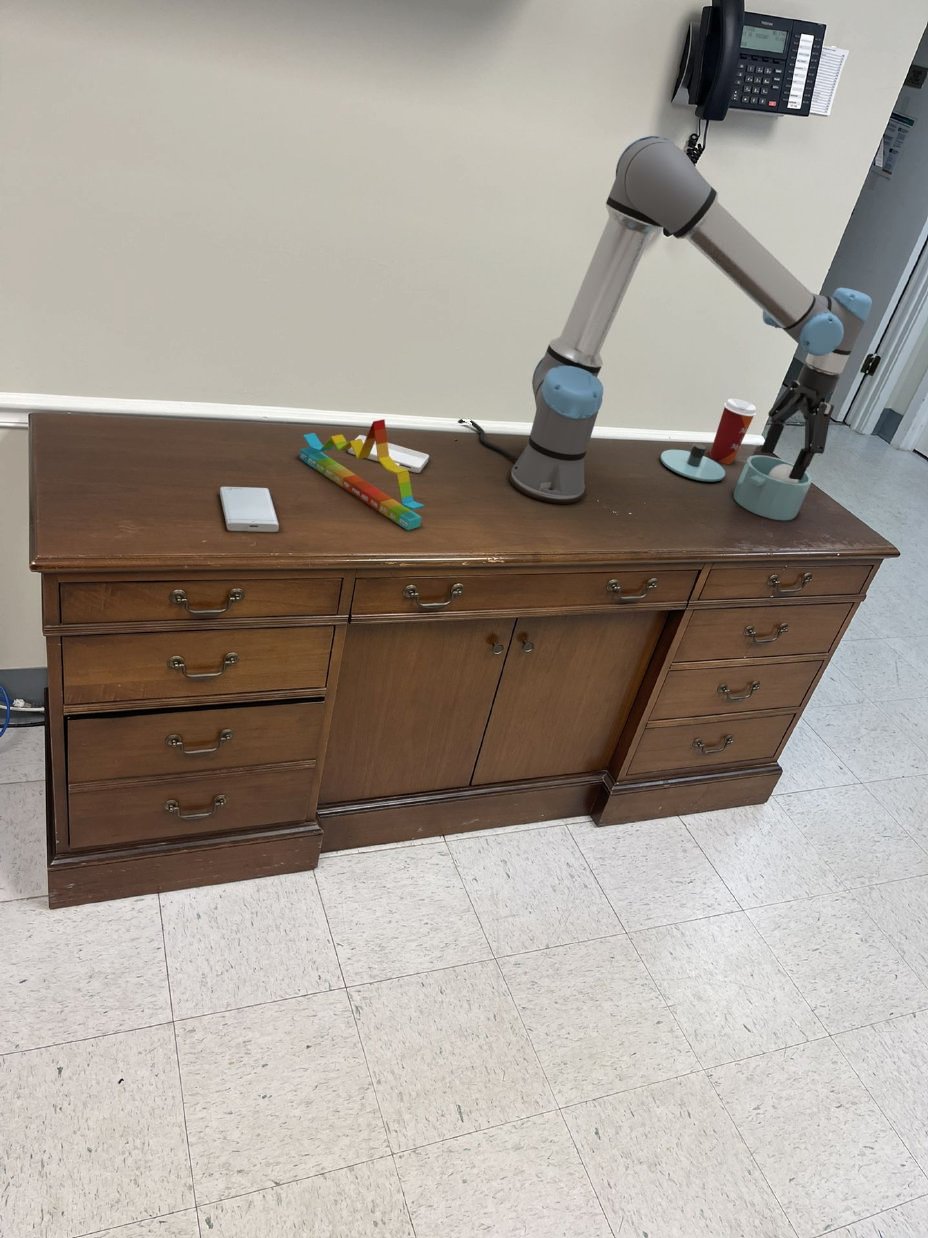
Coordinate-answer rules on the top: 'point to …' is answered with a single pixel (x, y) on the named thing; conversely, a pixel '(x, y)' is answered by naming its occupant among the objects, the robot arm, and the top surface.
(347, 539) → the top surface
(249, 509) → the hard drive
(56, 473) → the top surface
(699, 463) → the lid
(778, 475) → the lightbulb
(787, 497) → the pot
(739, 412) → the paper cup
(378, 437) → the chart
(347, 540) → the top surface
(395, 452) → the phone case
